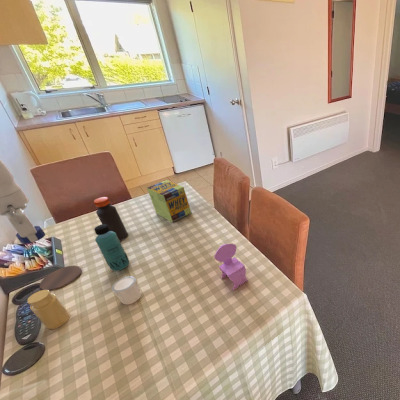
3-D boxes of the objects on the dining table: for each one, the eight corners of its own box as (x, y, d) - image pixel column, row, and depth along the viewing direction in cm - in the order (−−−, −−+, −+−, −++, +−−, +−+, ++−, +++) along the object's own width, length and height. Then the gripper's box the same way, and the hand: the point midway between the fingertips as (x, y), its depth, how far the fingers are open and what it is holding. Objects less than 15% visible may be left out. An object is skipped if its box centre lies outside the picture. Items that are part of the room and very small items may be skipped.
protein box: (173, 223, 130) (163, 195, 122) (156, 213, 137) (145, 187, 130) (192, 213, 138) (184, 186, 130) (175, 204, 145) (166, 179, 137)
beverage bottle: (108, 271, 102) (84, 230, 92) (124, 260, 108) (103, 219, 98) (119, 276, 100) (96, 234, 90) (135, 264, 106) (115, 223, 95)
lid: (47, 236, 90) (42, 230, 89) (23, 246, 86) (17, 239, 85) (43, 230, 94) (38, 223, 92) (19, 239, 89) (14, 232, 88)
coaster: (33, 295, 93) (32, 294, 93) (48, 272, 103) (47, 270, 102) (75, 284, 97) (75, 283, 97) (86, 263, 107) (85, 262, 106)
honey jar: (42, 331, 81) (20, 307, 75) (50, 316, 86) (30, 291, 80) (66, 325, 83) (46, 300, 77) (72, 310, 88) (54, 285, 82)
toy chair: (231, 293, 93) (222, 261, 85) (218, 280, 98) (209, 249, 90) (251, 279, 98) (244, 248, 91) (237, 268, 103) (231, 237, 96)
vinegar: (128, 238, 120) (110, 200, 110) (110, 244, 117) (90, 205, 106) (128, 231, 125) (110, 194, 115) (110, 236, 121) (91, 198, 111)
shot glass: (114, 304, 89) (106, 290, 86) (130, 288, 95) (122, 274, 92) (132, 307, 88) (124, 293, 85) (147, 291, 94) (140, 277, 91)
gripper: (27, 207, 79) (52, 243, 86) (14, 188, 90) (37, 221, 97) (-3, 216, 75) (25, 253, 82) (-13, 195, 86) (13, 230, 93)
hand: (31, 236), depth 90 cm, fingers closed on lid, 6 cm apart
